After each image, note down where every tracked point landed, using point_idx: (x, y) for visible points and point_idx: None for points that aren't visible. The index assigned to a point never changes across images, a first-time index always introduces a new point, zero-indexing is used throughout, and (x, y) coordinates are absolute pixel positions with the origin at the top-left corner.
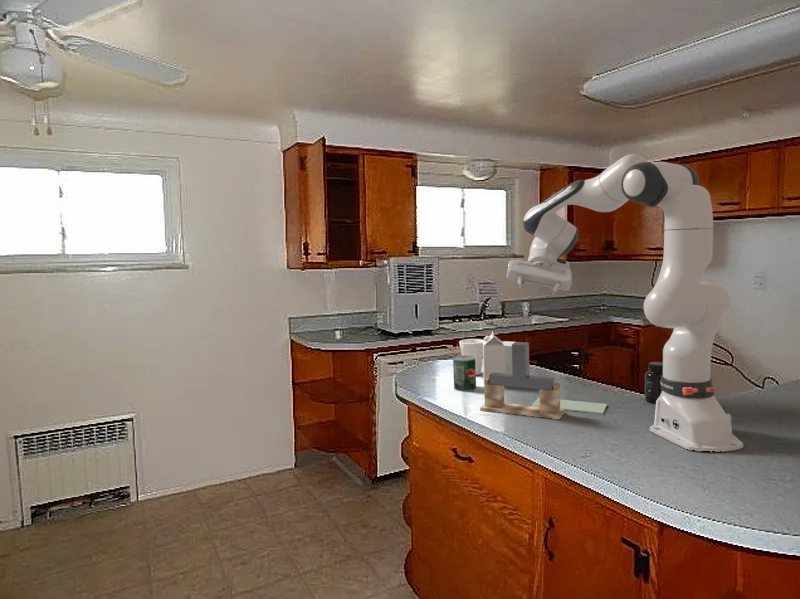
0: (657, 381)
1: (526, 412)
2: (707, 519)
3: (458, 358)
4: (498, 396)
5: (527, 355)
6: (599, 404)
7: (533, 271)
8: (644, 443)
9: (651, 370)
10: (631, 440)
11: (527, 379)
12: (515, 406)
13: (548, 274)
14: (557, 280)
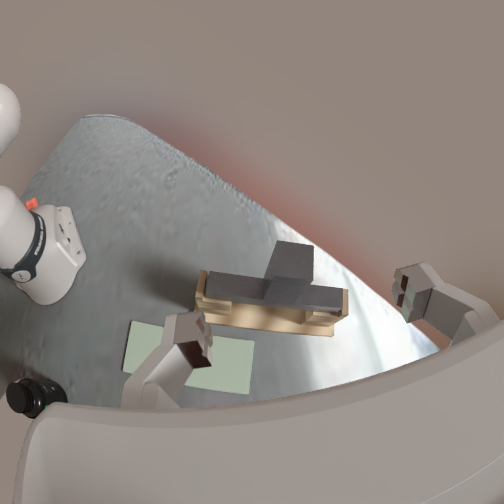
0: (33, 379)
1: None
2: (114, 115)
3: None
4: None
5: (270, 272)
6: (134, 367)
7: (435, 421)
8: (103, 218)
9: (30, 392)
10: (114, 224)
11: (261, 279)
12: (279, 317)
13: (233, 472)
14: (133, 409)
